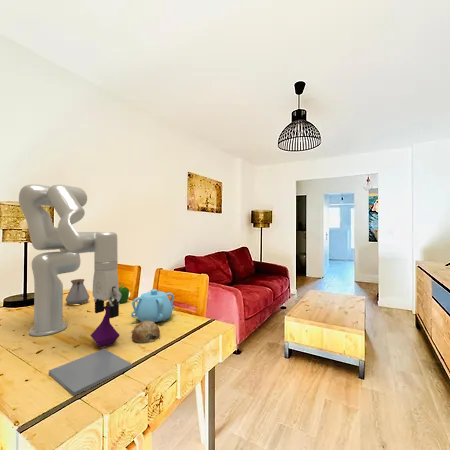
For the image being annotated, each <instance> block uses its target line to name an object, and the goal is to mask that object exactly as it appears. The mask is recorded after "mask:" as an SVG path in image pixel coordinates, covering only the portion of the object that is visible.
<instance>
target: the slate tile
mask: <svg viewBox="0 0 450 450" xmlns="http://www.w3.org/2000/svg"><path fill="white" fill-rule="evenodd" d="M132 368H133V363H131V362H130V361H128V360H126V359H124V358H123V357H120V356H118V355H116V353H115V354H114V353H113V352H111V351H109V350H108V349H106V348H101V349H100V350H97V351H95V352H92V353H90V354H87V355H85V356H82V357H79V358H77V359H74V360H72V361H70V362H67V363H64V364H62V365H59V366H57V367H55V368H52V369H50V370H48V375H49V376H50V377H52V378H53V380H55V381H56V382H57V383H58V384H60V385H61V387H63V388H64V389H65V390H66V391H67V390H68V391H67V392H68V393H70V394H71V395H72V394H73V395H74V396H73V395H72V396H73V397H76V396H78V395H80V394H82V393H84V392H86V391H87V390H90V389H92V388H94V387H95V385H96V386H98V385H100V384H102V383H104V382H105V380H106V381H108V380H110V379H112V378H114V377H116V376H118V375H120V374H122V373H123V372H126V371H127V370H129V369H132ZM113 376H114V377H113ZM111 377H112V378H111ZM109 378H110V379H109ZM107 379H108V380H107ZM103 381H104V382H103ZM99 383H100V384H99ZM97 384H98V385H97ZM93 386H94V387H93ZM91 387H92V388H91ZM83 391H84V392H83ZM81 392H82V393H81ZM77 394H78V395H77ZM75 395H76V396H75Z"/></svg>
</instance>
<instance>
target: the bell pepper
mask: <svg viewBox="0 0 450 450" xmlns="http://www.w3.org/2000/svg"><path fill="white" fill-rule="evenodd" d="M119 292H120V293H121V294H122V295H121V299H120V302H119V303H120V304H125V303H127V302H128V300H129V295H130V289H129V288H128V287H127V286H125V284H124V283H121V285H120V286H119Z"/></svg>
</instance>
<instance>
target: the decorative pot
mask: <svg viewBox="0 0 450 450" xmlns="http://www.w3.org/2000/svg"><path fill="white" fill-rule="evenodd" d="M169 296H171V298H169ZM170 299H171V300H170ZM174 300H175V295H174V294H173V293H172V292H164V291H158V289H154V288H153V289H150V291H147V292H145V293H142V294H140V296H138V297H136V298H134V299H132V302H131V303H132V304H131V305H132V308H133V310H134V311H132V312H131V314H130V316H131V318H134V319H135V318H137V319H138V321H139V322H140V323H141V322H143V321H151V322H154V323H158V322H165V321H167V320H168V319H169V318H170V317H171V315H172V314H173V311H174V310H175V308H176V307H175V305H174ZM136 302H137V303H136Z"/></svg>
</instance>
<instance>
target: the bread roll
mask: <svg viewBox="0 0 450 450" xmlns="http://www.w3.org/2000/svg"><path fill="white" fill-rule="evenodd" d="M160 333H161V330H160V328H159V326H158V325H157V324H156V322H151V321H143V322H141V321H140V322H139V323H137V325H135V326H133V329H132V331H131V332H130V334H131V338H132V340H133V341H134V342H135V343H140V344H146V343H152V342H154V341H155V340H157V339H158V338H159V337H160Z"/></svg>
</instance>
